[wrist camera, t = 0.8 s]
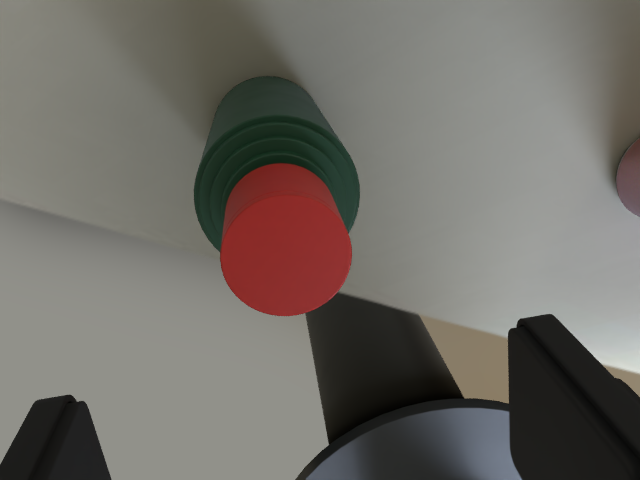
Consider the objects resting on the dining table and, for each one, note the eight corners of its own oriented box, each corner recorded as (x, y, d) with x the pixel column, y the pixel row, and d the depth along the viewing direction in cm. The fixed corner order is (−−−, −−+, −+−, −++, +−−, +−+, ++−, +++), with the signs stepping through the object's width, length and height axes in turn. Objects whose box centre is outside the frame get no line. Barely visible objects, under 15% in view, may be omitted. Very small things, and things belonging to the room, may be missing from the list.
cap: (341, 259, 22) (358, 307, 19) (235, 276, 22) (233, 328, 19) (328, 154, 21) (344, 185, 17) (215, 171, 21) (208, 206, 17)
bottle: (329, 176, 37) (397, 326, 20) (223, 193, 37) (201, 359, 20) (315, 68, 35) (380, 132, 18) (203, 84, 34) (156, 165, 17)
